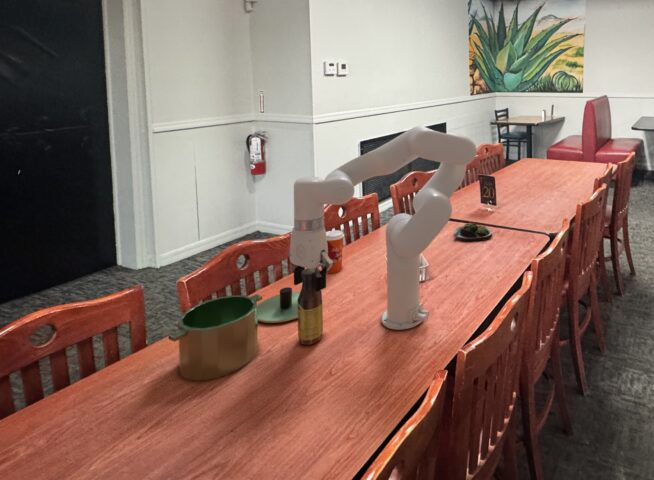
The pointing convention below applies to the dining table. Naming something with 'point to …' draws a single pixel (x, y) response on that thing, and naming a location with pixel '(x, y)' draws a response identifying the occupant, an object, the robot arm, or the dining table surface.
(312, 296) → the sauce bottle
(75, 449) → the dining table surface
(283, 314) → the tin lid
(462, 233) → the salad plate
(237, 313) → the cooking pot
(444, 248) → the dining table surface
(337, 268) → the paper cup
